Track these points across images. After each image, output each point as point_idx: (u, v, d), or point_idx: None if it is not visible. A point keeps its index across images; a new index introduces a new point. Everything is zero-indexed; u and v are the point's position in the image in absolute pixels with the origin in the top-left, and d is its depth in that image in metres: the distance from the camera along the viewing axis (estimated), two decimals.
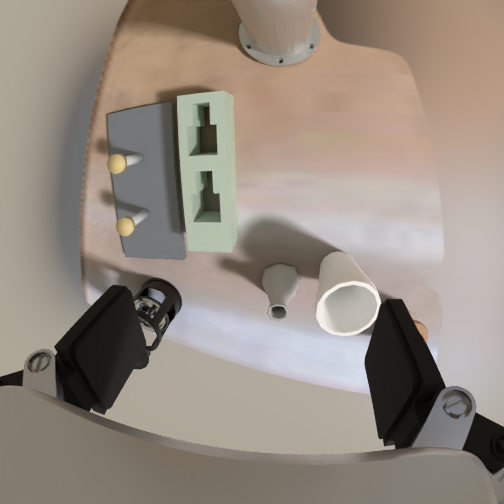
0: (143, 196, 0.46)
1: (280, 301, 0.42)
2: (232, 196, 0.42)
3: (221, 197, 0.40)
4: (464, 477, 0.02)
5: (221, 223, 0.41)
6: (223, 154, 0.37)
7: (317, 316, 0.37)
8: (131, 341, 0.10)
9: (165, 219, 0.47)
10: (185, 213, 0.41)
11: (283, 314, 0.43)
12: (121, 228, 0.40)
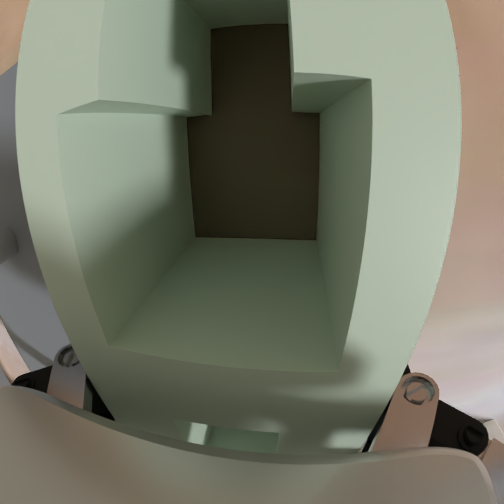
0: (49, 343, 0.13)
1: None
2: None
3: None
4: (464, 477, 0.02)
5: None
6: (382, 369, 0.04)
7: None
8: None
9: None
10: None
11: None
12: None
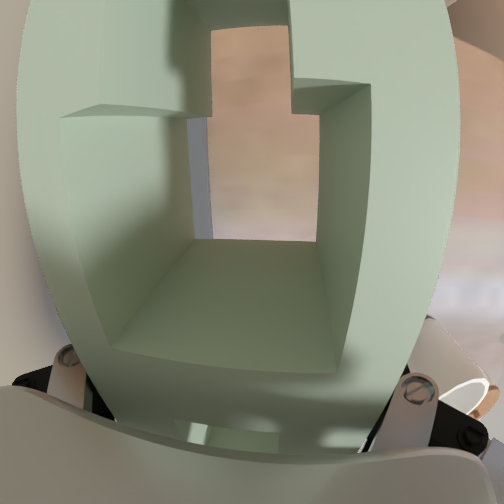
0: None
1: None
2: None
3: None
4: (464, 477, 0.02)
5: None
6: (381, 370, 0.04)
7: None
8: None
9: None
10: None
11: None
12: None
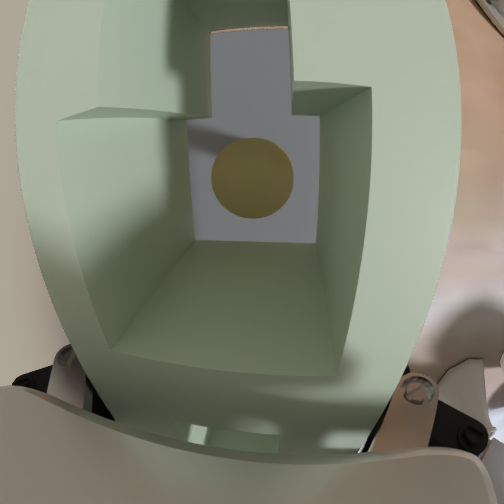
0: None
1: (488, 423, 0.16)
2: None
3: None
4: (464, 477, 0.02)
5: None
6: (381, 373, 0.04)
7: None
8: None
9: None
10: None
11: None
12: None
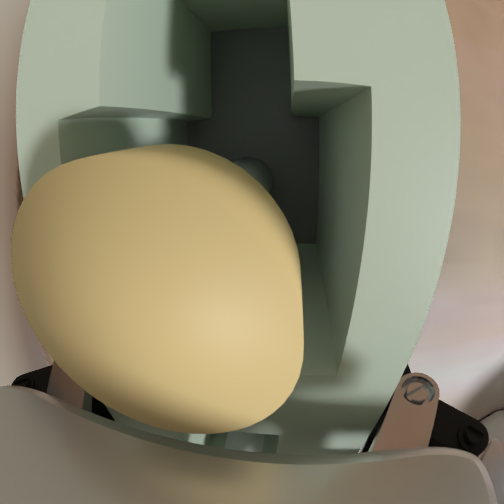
0: None
1: None
2: None
3: None
4: (464, 477, 0.02)
5: None
6: (381, 372, 0.04)
7: None
8: None
9: None
10: None
11: None
12: None
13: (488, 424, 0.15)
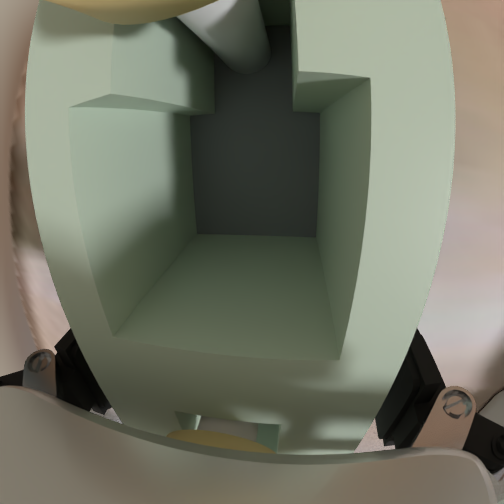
0: None
1: None
2: None
3: None
4: (464, 477, 0.02)
5: None
6: (382, 358, 0.04)
7: None
8: None
9: None
10: None
11: None
12: None
13: None
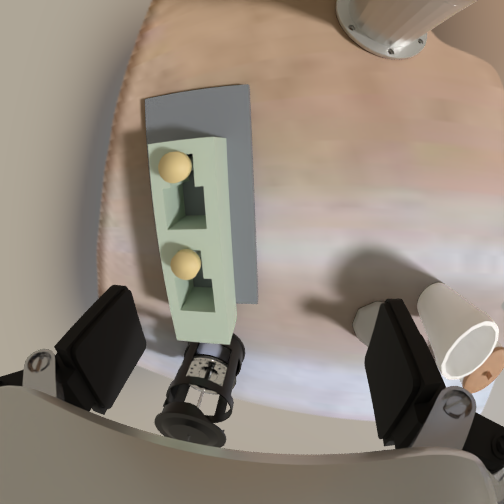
0: None
1: None
2: (228, 276, 0.33)
3: (214, 283, 0.30)
4: (464, 477, 0.02)
5: (216, 313, 0.32)
6: (214, 229, 0.28)
7: (442, 364, 0.25)
8: (131, 341, 0.10)
9: (234, 250, 0.35)
10: (169, 299, 0.32)
11: None
12: (180, 267, 0.28)
13: (370, 309, 0.36)
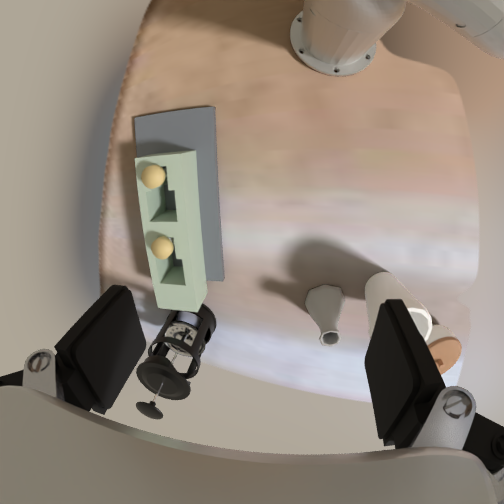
0: None
1: (332, 326, 0.39)
2: (197, 258, 0.42)
3: (184, 263, 0.40)
4: (464, 477, 0.02)
5: (186, 286, 0.41)
6: (183, 221, 0.37)
7: None
8: (131, 341, 0.10)
9: (203, 238, 0.44)
10: (152, 275, 0.41)
11: (334, 339, 0.39)
12: (158, 250, 0.37)
13: (318, 290, 0.45)
